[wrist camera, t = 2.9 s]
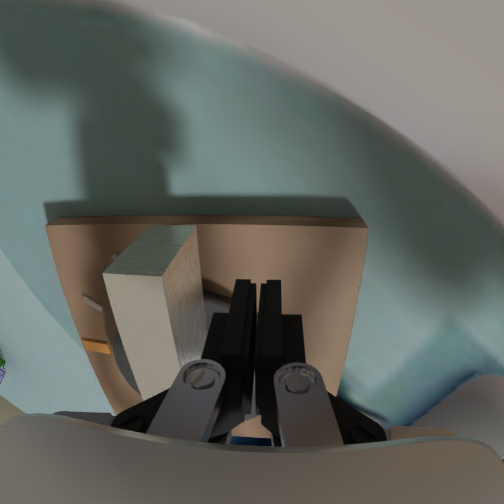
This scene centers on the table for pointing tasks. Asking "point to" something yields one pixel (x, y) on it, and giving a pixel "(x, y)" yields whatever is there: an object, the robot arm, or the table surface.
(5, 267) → the table surface
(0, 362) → the geometric puzzle
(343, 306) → the dial plate
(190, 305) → the dial
